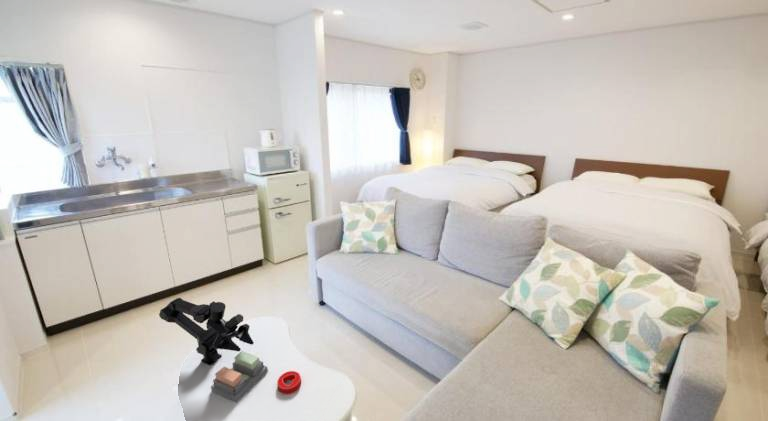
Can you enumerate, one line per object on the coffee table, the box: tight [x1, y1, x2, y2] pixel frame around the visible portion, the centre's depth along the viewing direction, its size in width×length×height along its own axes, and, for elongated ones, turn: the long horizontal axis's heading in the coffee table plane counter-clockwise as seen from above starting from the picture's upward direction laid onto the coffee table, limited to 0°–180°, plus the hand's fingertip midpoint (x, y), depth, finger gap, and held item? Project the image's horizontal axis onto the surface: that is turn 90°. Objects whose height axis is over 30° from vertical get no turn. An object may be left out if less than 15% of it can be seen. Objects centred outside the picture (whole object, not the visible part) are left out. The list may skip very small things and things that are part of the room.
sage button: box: [234, 350, 261, 371], centre depth 148 cm, size 10×4×4 cm, turn 65°
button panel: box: [210, 360, 269, 404], centre depth 145 cm, size 14×18×6 cm
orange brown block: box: [214, 366, 242, 388], centre depth 139 cm, size 10×4×4 cm, turn 65°
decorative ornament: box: [276, 370, 302, 395], centre depth 143 cm, size 10×10×3 cm
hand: (246, 346), depth 143 cm, fingers open, 9 cm apart
